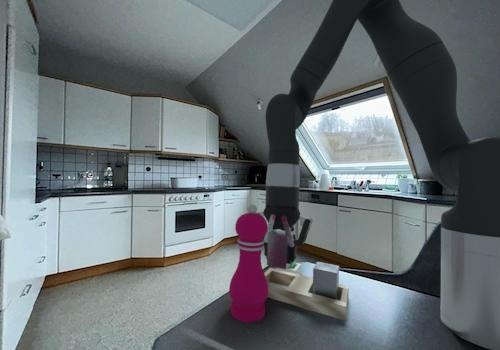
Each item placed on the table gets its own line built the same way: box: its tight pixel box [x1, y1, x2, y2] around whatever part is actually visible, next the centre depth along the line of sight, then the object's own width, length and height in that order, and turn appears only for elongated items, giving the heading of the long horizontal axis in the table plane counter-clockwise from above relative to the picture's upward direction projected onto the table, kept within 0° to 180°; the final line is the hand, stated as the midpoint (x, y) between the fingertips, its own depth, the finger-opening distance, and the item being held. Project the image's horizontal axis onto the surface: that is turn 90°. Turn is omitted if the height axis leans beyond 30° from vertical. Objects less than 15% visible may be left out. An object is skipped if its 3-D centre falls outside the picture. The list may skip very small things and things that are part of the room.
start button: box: [288, 258, 297, 269], centre depth 56 cm, size 3×3×2 cm
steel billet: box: [266, 229, 291, 269], centre depth 48 cm, size 4×4×7 cm
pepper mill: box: [228, 204, 269, 323], centre depth 40 cm, size 7×7×20 cm
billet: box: [312, 261, 340, 300], centre depth 44 cm, size 4×4×7 cm
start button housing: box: [275, 262, 302, 275], centre depth 56 cm, size 5×5×3 cm
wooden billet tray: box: [264, 267, 350, 322], centre depth 46 cm, size 18×9×3 cm, turn 63°
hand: (279, 260), depth 48 cm, fingers closed on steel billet, 4 cm apart
